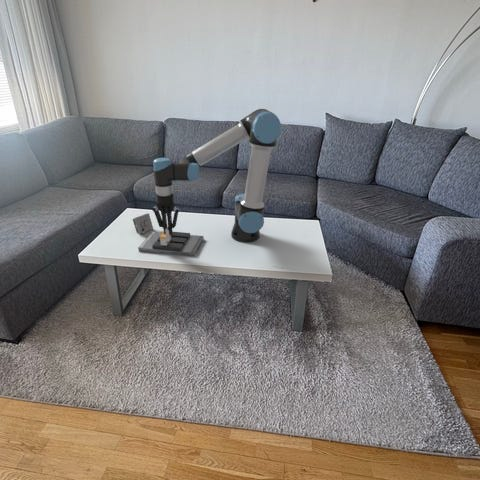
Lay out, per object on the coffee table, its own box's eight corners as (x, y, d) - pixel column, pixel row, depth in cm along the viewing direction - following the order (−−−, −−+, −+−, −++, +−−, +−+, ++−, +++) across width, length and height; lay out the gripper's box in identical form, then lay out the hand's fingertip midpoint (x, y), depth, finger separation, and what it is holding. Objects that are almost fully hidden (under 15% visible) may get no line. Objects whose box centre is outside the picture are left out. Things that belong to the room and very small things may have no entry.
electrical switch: (139, 235, 176) (136, 218, 173) (133, 233, 180) (130, 217, 176) (153, 229, 183) (151, 213, 179) (148, 227, 186) (145, 212, 182)
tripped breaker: (169, 242, 161) (168, 234, 159) (166, 245, 159) (165, 237, 157) (163, 242, 162) (162, 234, 160) (160, 245, 159) (159, 236, 157)
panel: (203, 239, 173) (203, 233, 172) (194, 256, 157) (194, 250, 156) (152, 235, 177) (152, 229, 175) (138, 251, 161) (137, 245, 159)
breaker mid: (168, 236, 167) (167, 228, 165) (165, 239, 164) (165, 231, 162) (162, 236, 167) (161, 228, 165) (160, 239, 165) (159, 231, 162)
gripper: (181, 191, 150) (184, 237, 161) (153, 189, 152) (158, 235, 163) (176, 197, 144) (179, 245, 155) (147, 195, 145) (153, 242, 156)
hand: (168, 240), depth 159 cm, fingers closed
